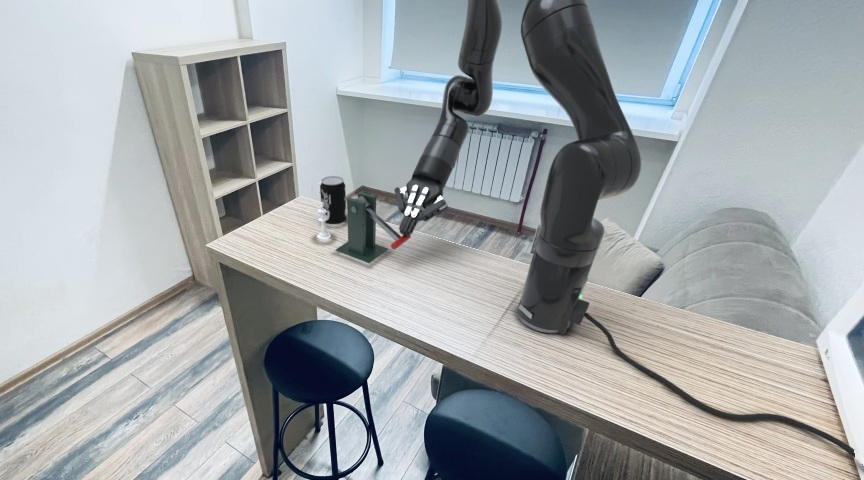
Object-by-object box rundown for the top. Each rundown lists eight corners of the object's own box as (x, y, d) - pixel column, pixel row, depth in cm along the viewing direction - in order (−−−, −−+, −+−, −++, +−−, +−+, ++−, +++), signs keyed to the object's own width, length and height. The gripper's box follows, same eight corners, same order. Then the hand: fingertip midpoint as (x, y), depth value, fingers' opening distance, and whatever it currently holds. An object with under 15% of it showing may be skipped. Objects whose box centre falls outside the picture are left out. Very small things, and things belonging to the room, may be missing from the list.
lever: (407, 241, 91) (413, 234, 89) (393, 252, 87) (398, 245, 86) (363, 200, 94) (367, 192, 92) (347, 209, 90) (351, 201, 88)
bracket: (388, 252, 98) (390, 196, 90) (369, 267, 93) (369, 209, 84) (355, 240, 103) (354, 186, 95) (335, 254, 98) (332, 198, 90)
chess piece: (311, 242, 103) (308, 205, 97) (318, 233, 106) (315, 197, 101) (329, 245, 101) (327, 207, 96) (336, 235, 105) (334, 199, 99)
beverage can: (345, 227, 109) (344, 184, 102) (321, 227, 109) (318, 184, 102) (346, 216, 114) (345, 175, 107) (323, 217, 114) (320, 175, 107)
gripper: (405, 148, 89) (372, 219, 88) (461, 159, 82) (425, 236, 82) (415, 165, 95) (384, 232, 95) (468, 177, 89) (435, 248, 88)
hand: (403, 234), depth 88 cm, fingers closed
